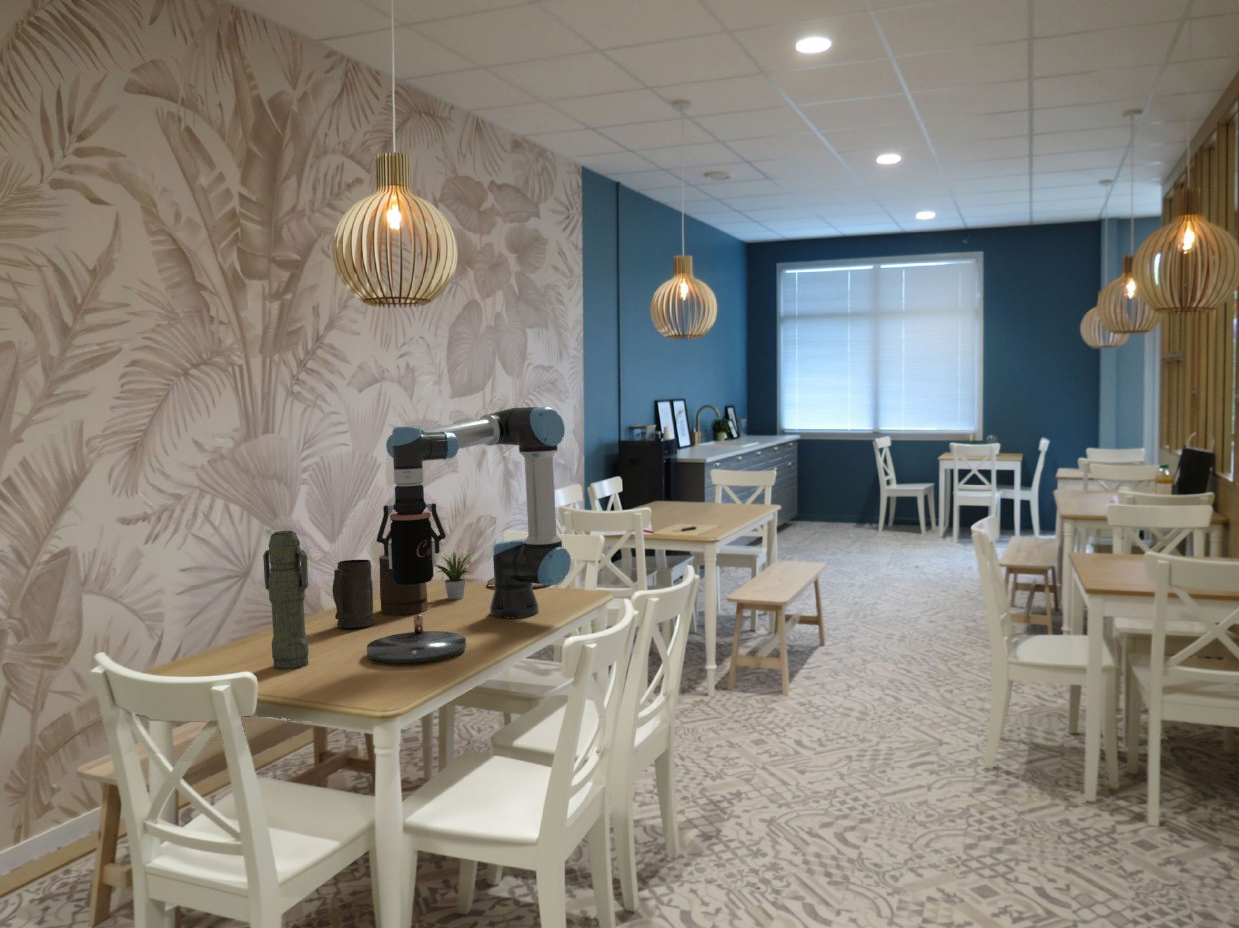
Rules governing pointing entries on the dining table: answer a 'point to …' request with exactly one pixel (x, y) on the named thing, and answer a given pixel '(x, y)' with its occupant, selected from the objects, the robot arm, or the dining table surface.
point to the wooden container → (400, 593)
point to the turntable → (416, 645)
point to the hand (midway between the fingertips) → (412, 567)
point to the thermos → (287, 599)
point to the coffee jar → (411, 548)
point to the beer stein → (353, 593)
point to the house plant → (454, 577)
